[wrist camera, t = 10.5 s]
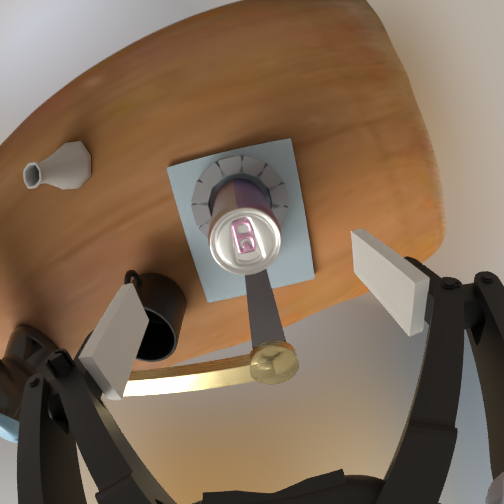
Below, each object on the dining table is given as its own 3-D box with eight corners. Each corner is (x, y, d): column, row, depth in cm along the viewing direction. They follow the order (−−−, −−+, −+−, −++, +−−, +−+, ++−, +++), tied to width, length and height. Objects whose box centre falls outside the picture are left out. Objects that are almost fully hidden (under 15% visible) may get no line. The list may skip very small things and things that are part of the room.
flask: (61, 196, 34) (22, 214, 25) (49, 152, 32) (7, 160, 22) (98, 179, 34) (61, 193, 25) (85, 132, 31) (45, 133, 22)
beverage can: (257, 173, 34) (276, 197, 21) (266, 217, 37) (289, 268, 23) (210, 183, 35) (198, 215, 21) (221, 227, 37) (218, 284, 23)
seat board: (208, 299, 42) (196, 410, 23) (168, 167, 34) (99, 197, 15) (313, 275, 42) (367, 372, 23) (289, 138, 34) (355, 135, 15)
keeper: (298, 367, 21) (301, 378, 20) (121, 393, 21) (117, 402, 20) (292, 335, 20) (295, 345, 19) (101, 365, 20) (97, 375, 19)
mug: (166, 249, 39) (151, 278, 30) (194, 318, 43) (188, 356, 35) (111, 265, 39) (87, 295, 30) (142, 329, 43) (128, 365, 35)
